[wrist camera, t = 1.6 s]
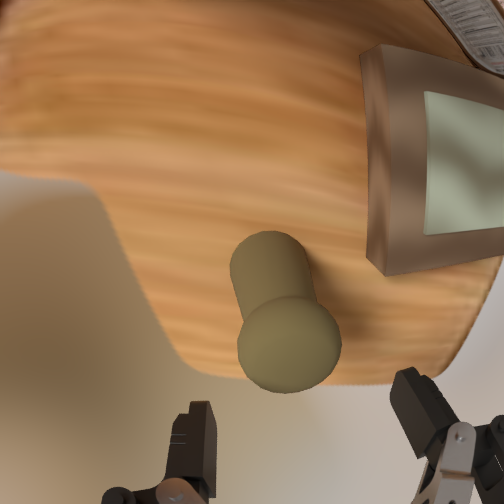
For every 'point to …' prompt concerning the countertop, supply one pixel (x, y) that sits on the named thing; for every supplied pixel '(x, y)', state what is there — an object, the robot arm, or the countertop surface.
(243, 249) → the olive pepper mill
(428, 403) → the robot arm
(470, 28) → the tin
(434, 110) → the stand
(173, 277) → the countertop surface
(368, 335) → the countertop surface
